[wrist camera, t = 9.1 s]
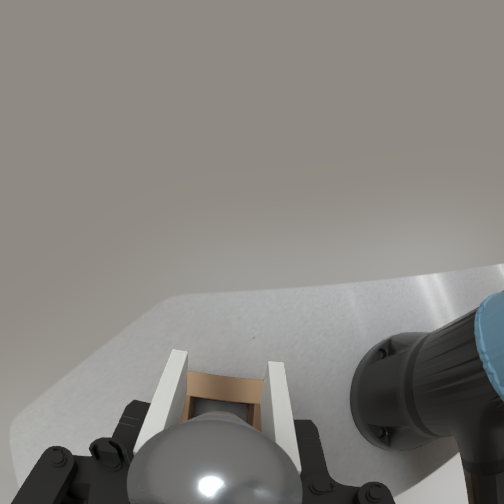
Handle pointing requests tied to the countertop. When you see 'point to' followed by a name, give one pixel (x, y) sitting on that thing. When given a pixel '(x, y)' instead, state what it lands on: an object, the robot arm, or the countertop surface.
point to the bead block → (224, 394)
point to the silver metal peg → (213, 465)
